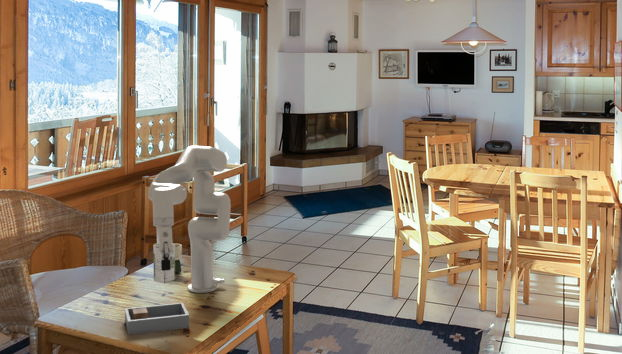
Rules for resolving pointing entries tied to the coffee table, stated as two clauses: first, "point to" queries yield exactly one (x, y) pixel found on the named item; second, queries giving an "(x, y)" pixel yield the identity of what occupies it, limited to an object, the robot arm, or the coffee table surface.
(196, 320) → the coffee table surface
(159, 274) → the syrup box
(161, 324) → the tote
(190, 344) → the coffee table surface
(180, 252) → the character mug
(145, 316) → the walnut cube
